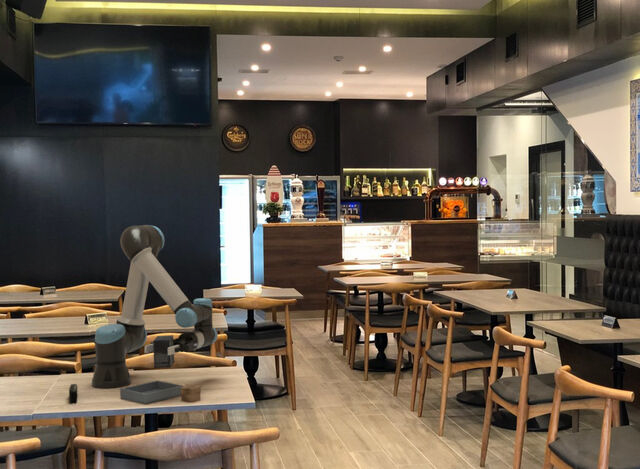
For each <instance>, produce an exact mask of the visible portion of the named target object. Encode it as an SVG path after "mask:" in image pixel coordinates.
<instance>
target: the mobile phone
mask: <svg viewBox="0 0 640 469" xmlns="http://www.w3.org/2000/svg"><path fill="white" fill-rule="evenodd" d="M78 396H79V394H78V384H76V383H72V384H70V386H69V388H68V399H69V404H71V403H74V404H77V403H78ZM76 402H77V403H76Z"/></svg>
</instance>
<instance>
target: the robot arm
mask: <svg viewBox="0 0 640 469" xmlns="http://www.w3.org/2000/svg"><path fill="white" fill-rule="evenodd" d="M164 246H165V236H164V233H163V232H162V231H161V229H160V228H159V227H157V226H154V225H149V224H143V225H132V226H129V227H127V228H125V229H124V231H123V232H122V233H121V235H120V247H121V249H122V251H123V253H124V255H125V256H126V257H127V259H128V260H129V262H130V266H129V271H128V277H127V283H126V288H125V293H124V300H123V303H122V304H123V306H122V309H121V310H122V311H121V315H120V316H118V317H117V318H116V322H115V323H113V324H112V323H111V324H106V325H105V324H104V325H101V326H99V327H97V328H96V330H95V334H94V335H95V336H94V341H95V345H94V346H95V347H94V348H95V369H94V372H93V376H92V379H91V387H93V388H99V389H110V388H120V387H121V388H122V387H126V386H128V385H130V384H131V382H132V381H131V380H132V379H131V375H130V372H129V370H128V366H127V362H126V361H127V360H126V358H127V357H126V356H127V355H126V354H129V353H132V352H135V351H138V350H139V349H140V348H142V347H143V346H144V354H148V353H154V349H153V341H151V342H150V343H149V344H146V342H147V337H148V332H147V329H146V326H145V325H146V322H145V320H144V319H143V316H144V311H145V303H146V299H147V295H148V294H147V293H148V290H149V283H150V284H151V286H153V288H154V289H155V290H156V292H157V293H158V294H159V296H160V297H161V298H162V299H163V301H164V302H165V303H166V304H167V306H168V307H169V308H170V310H171V311H172V312H173V314H175V315H174V316H175V318H174V320H175V323H176V324H177V325H178V326H179V327H180V328H186V329H187V328H191V327H193V330H189V331H185V332H182V333H181V334H179V336H178V337H177V338H173V343H174V346H172V347H169V348H168V355H172V354H174V355H175V354H178V353H182V352H186V353H189V352H192V351H196V350H197V349H200V348H204V347H208V346H210V345H213V344H214V343H216V341H217V339H218V332H217V330H216V328H215V327H214V325H213V308H214V307H213V300H212V299H211V298H209V297H208V298H205V297H204V298H203V297H202V298H195V299H194V300H193V302H191V301H190V300H189V299H188V297H187V296H186V295H185V294H184V292H183V291H182V290H181V288H180V286H178V285H177V283H176V282H175V280H173V278H172V277H171V275H170V274H169V273H168V272H167V270H166V269H165V267H164V266H163V265H162V264H161V263H160V262H159V260H158V256H159V252H160V251H161V250H162V249H163V248H164ZM145 344H146V345H145Z"/></svg>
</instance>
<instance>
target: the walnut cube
mask: <svg viewBox="0 0 640 469" xmlns="http://www.w3.org/2000/svg"><path fill="white" fill-rule="evenodd" d="M201 395H202V394H201V385H195V384H194V385H193V384H188V385H183V387H181V396H180V401H181V402H184V403H194V402H198V401H201V400H200V399H201V398H202V397H201Z"/></svg>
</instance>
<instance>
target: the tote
mask: <svg viewBox="0 0 640 469" xmlns="http://www.w3.org/2000/svg"><path fill="white" fill-rule="evenodd" d="M181 387H184V385H182V384H178V383H172V382H167V381H162V380H153V381H149V382H145V383H141V384H136V385H131V386H127V387H126V386H125V387H123V388H122V387H121V388H120V389H119V390H120V391H119V393H120V400H125V401H131V402H134V403H139V404H142V405H150V404H153V403H158V402H162V401H165V400H171V399H173V398H177V397H181Z"/></svg>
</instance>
